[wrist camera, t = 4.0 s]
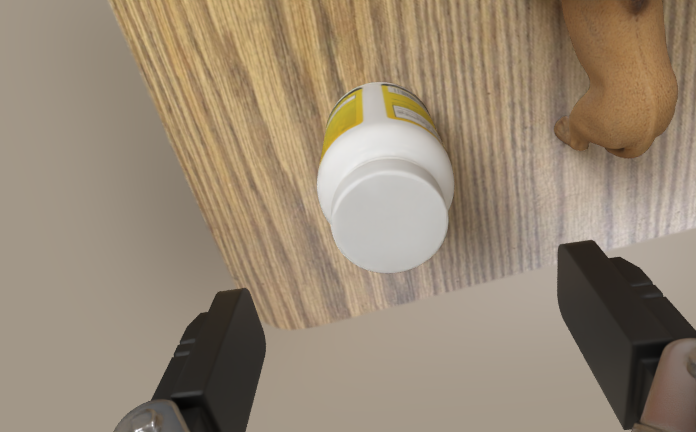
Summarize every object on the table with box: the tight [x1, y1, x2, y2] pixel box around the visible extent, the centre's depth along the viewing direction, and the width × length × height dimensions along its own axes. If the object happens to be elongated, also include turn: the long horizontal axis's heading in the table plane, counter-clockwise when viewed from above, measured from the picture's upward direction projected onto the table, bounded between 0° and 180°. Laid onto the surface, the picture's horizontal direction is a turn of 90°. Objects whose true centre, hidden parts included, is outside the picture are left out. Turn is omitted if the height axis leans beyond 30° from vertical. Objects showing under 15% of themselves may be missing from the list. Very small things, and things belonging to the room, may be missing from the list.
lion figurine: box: [554, 0, 678, 158], centre depth 18 cm, size 15×5×9 cm, turn 35°
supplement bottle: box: [317, 82, 454, 274], centre depth 21 cm, size 5×5×10 cm
